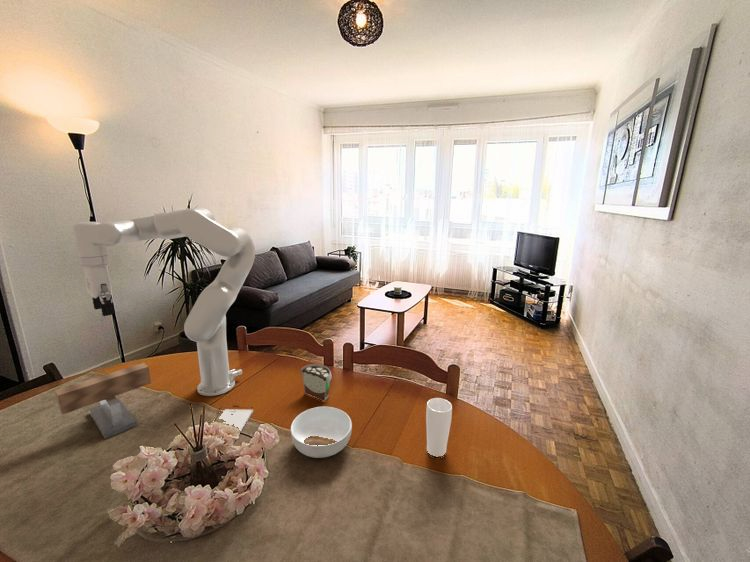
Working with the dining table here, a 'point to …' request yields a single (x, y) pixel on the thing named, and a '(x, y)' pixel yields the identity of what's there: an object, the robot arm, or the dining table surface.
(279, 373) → the dining table surface
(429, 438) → the drinking glass
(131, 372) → the walnut bar
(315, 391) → the food container
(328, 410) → the cereal bowl
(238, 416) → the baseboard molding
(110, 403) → the balance stand
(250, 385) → the dining table surface
